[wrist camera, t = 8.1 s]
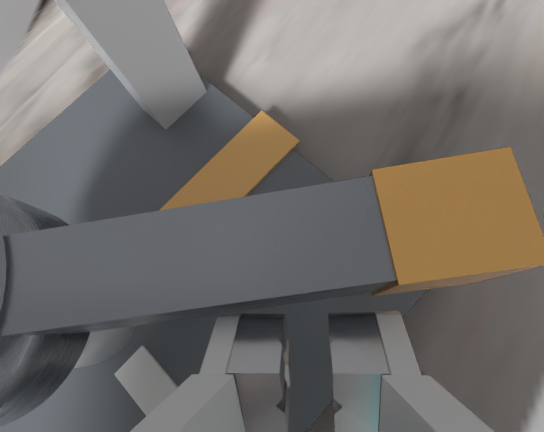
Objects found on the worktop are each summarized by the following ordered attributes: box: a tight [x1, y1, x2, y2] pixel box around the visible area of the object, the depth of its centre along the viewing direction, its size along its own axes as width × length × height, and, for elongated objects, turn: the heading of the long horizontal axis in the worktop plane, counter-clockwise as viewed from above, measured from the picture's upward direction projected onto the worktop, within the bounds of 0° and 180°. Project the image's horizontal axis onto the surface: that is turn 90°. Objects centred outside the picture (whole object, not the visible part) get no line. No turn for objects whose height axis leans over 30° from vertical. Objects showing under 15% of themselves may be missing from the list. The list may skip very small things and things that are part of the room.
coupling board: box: [0, 0, 427, 432], centre depth 13 cm, size 24×20×10 cm
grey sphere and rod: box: [0, 147, 544, 426], centre depth 9 cm, size 7×18×4 cm, turn 97°
